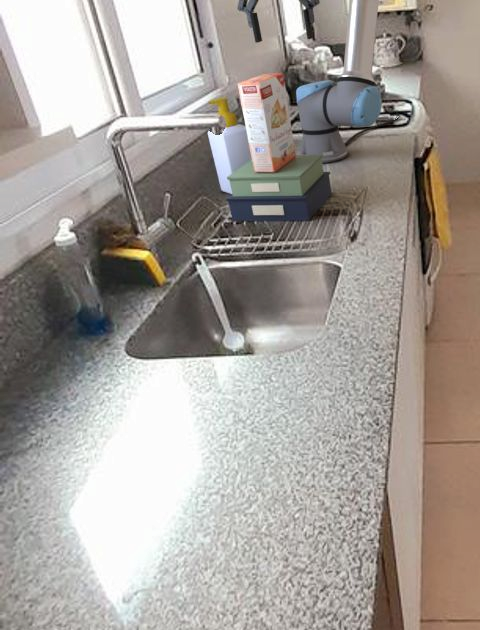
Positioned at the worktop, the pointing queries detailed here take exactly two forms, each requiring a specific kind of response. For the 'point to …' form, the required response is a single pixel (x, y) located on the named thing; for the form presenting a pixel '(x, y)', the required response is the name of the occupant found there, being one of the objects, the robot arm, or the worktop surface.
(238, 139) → the soap bottle
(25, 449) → the worktop surface
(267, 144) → the cracker box
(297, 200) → the box stack
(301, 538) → the worktop surface
